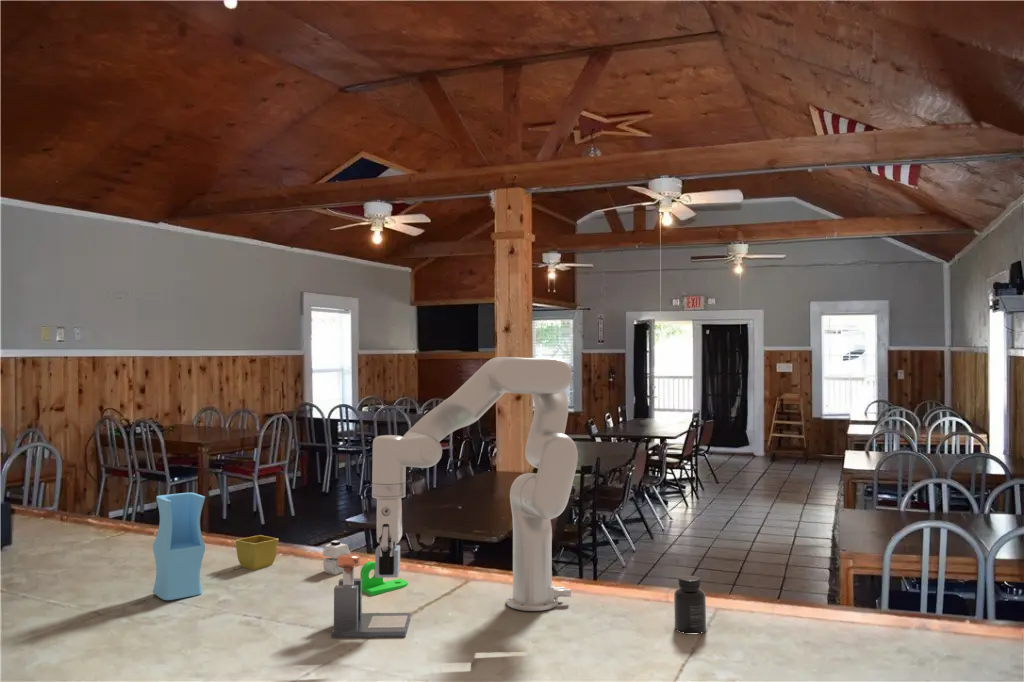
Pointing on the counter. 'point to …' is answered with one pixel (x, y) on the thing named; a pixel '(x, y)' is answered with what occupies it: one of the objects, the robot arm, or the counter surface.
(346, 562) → the ram
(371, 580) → the mechanical part
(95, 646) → the counter surface
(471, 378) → the robot arm
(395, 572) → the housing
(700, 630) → the supplement bottle
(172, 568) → the vase
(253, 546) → the flower pot
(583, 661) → the counter surface
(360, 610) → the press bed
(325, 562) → the grey blocky fitting
